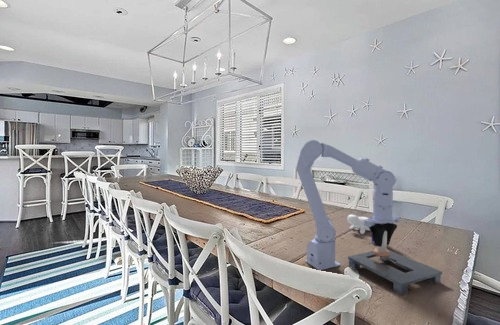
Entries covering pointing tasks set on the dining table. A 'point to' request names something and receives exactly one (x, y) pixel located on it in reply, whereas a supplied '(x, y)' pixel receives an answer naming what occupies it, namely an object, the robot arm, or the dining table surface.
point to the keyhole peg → (382, 248)
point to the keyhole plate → (395, 275)
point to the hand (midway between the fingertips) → (381, 244)
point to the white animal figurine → (357, 223)
